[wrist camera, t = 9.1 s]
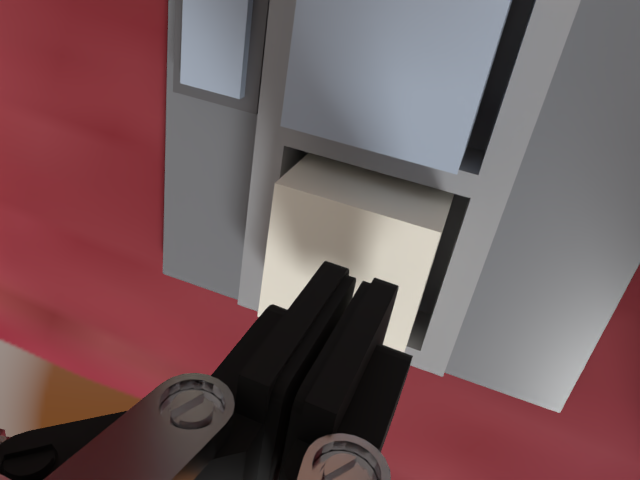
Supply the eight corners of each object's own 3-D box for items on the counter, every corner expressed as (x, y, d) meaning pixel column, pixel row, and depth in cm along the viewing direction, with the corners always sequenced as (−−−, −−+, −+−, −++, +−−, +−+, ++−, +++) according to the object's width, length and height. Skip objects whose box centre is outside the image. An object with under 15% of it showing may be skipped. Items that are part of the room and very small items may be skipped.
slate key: (524, -40, 12) (522, -37, 10) (469, 140, 14) (457, 174, 12) (344, -74, 13) (306, -79, 10) (317, 100, 15) (280, 125, 12)
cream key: (455, 191, 14) (441, 232, 12) (417, 313, 16) (399, 367, 14) (310, 151, 15) (274, 182, 13) (291, 271, 17) (257, 316, 15)
